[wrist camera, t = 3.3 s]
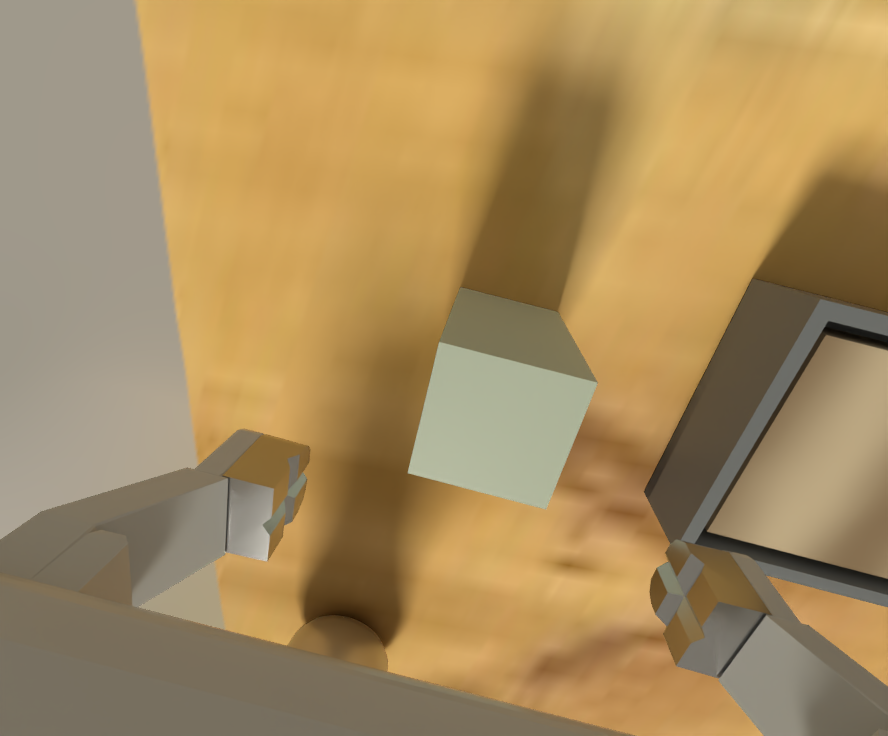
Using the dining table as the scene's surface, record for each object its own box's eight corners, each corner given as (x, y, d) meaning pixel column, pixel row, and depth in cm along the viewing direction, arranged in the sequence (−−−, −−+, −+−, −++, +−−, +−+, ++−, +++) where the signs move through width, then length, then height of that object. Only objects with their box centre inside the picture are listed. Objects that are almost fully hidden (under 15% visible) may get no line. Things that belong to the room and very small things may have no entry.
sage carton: (558, 311, 19) (597, 382, 12) (527, 399, 21) (546, 509, 14) (460, 286, 19) (439, 341, 12) (438, 376, 21) (407, 473, 14)
